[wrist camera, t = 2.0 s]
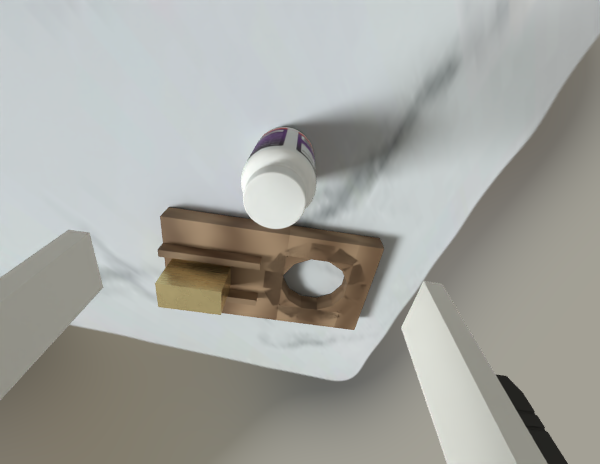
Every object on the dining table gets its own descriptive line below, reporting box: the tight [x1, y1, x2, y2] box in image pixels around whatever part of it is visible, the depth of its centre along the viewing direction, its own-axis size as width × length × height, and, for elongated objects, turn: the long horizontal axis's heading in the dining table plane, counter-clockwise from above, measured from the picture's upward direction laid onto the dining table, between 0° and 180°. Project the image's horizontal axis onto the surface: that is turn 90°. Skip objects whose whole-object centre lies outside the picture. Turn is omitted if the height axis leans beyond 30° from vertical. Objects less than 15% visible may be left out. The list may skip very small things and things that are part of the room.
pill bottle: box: [241, 127, 316, 229], centre depth 22 cm, size 5×5×10 cm
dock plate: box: [158, 207, 384, 330], centre depth 32 cm, size 22×12×3 cm, turn 81°
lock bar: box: [155, 258, 231, 315], centre depth 29 cm, size 6×3×4 cm, turn 81°
